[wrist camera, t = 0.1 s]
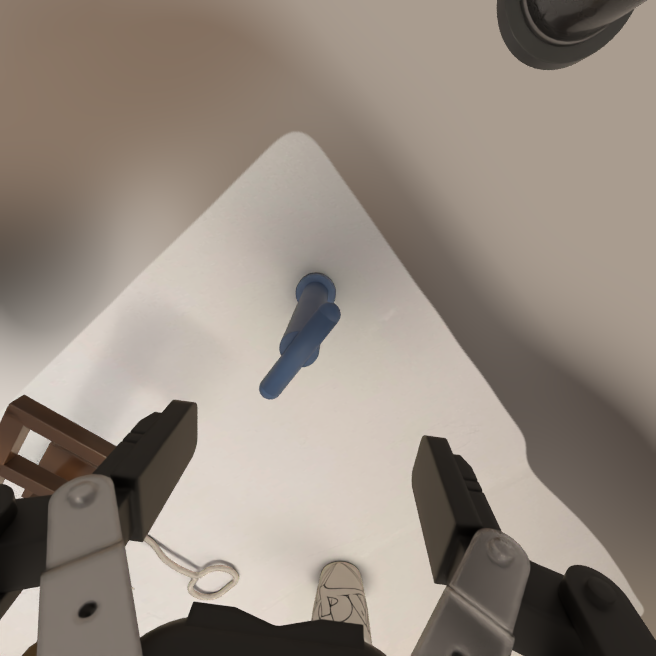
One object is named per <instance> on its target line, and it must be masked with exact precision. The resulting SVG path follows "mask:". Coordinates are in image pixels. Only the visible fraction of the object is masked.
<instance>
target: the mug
mask: <svg viewBox="0 0 656 656" xmlns="http://www.w3.org/2000/svg"><path fill="white" fill-rule="evenodd" d="M319 619H325V620H333V621H340V622H347V623H355V624H362V625H363V626H364V641H365V642H367V643H369V644H371V645H372V641H371V633H370V624H369V616H368V609H367V603H366V598H365V593H364V589H363V584H362V579H361V575H360V573H359V571H358V569H357V568H356V567H355V566H353V565H352V564H349V563H346V562H334V563H331V564H328V565H327V566H326V567H325V568H324V569H323V570H322V573H321V576H320V580H319V584H318V588H317V593H316V597H315V601H314V607H313V613H312V620H311V621H313V620H319Z"/></svg>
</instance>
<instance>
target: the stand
mask: <svg viewBox="0 0 656 656" xmlns="http://www.w3.org/2000/svg"><path fill="white" fill-rule="evenodd" d="M30 429H31V430H32V431H34V432H36V433H38V434H40V435H42V436H43V437H45V438H47V439H49V440H51V441H52V442H51V443H50V444H49V446H48V448H47V450H46V452H45V454H44V455H43V457H42V459H41V461H40V463H39V465H37V464H35V463H33V462H31V461H29V460H27V459H26V458H24V457H22V456H20V455H18V452H19V450H20V448H21V446H22V444H23V442H24V440H25V439H26V437H27V435H28V433H29V431H30ZM116 447H117V446H115V445H113V444H111V443H109V442H108V441H106V440H104V439H102V438H101V437H99V436H97V435H95V434H93V433H92V432H90V431H88V430H86V429H85V428H83V427H81V426H79V425H77V424H76V423H74V422H72V421H70V420H68V419H67V418H65V417H63V416H61V415H60V414H58V413H56V412H54V411H52V410H51V409H49V408H47V407H45V406H44V405H42V404H40V403H38V402H36V401H35V400H33V399H31V398H29V397H28V396H26V395H23V396H21V397H19V398H18V399H16V400H15V401H13V402H11V403H10V404H9V406H8V407H7V409H6V411H5V414H4V416H3V418H2V420H1V422H0V484H3V482H4V480H5V479H7V480H9V481H11V482H13V483H15V484H17V485H18V486H20V487H22V488H24V489H25V490H24V492H23V494H22V496H21V497H23V498H29V497H37V496H46V495H52V494H53V493H54V492H55V491H56V490H57V489H58V488H59V487H61V486H62V485H64V484H65V483H67V482H69V481H70V480H73V479H75V478H78V477H81V476H84V475H90V474H92V473H93V472H94V471H95V470H96V469H97V468H98V466H99V465H100V464H101V463H102V462H103V461H104V460H105V459H106V458H107V457H108V455H109V454H110V453H111V452H112V451H113V450H114V449H115V448H116Z"/></svg>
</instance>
